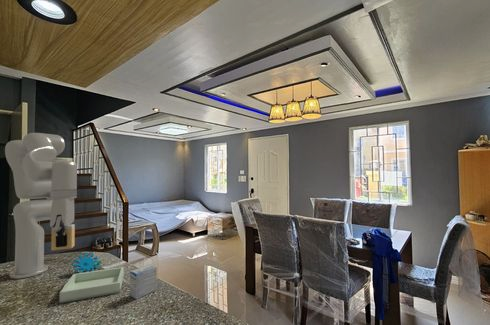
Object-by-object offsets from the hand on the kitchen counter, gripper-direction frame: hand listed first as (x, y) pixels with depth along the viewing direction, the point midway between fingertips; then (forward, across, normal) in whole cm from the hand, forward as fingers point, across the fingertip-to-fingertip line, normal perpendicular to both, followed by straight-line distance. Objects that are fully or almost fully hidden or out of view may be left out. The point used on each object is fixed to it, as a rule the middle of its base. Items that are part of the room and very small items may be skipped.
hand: (63, 244), depth 87 cm
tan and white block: (+1, 0, 0) cm, 1 cm away
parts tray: (+18, -1, +10) cm, 20 cm away
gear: (+18, -19, +4) cm, 26 cm away
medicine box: (+18, +11, +27) cm, 35 cm away
